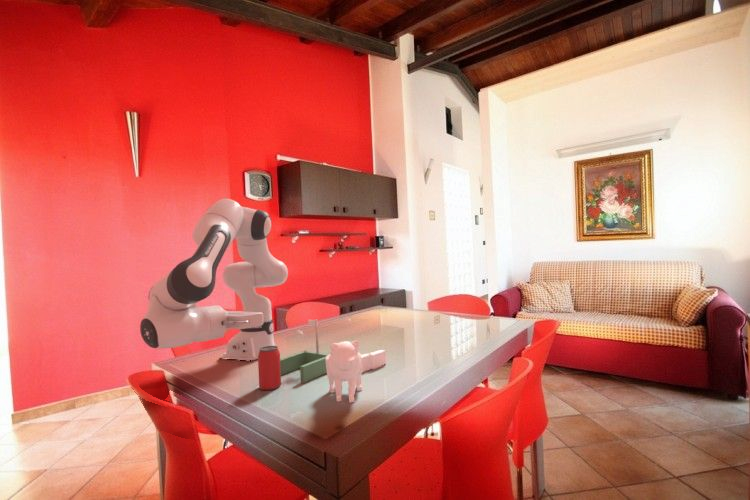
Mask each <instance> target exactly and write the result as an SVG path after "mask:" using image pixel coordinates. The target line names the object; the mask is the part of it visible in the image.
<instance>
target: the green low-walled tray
mask: <svg viewBox="0 0 750 500" xmlns="http://www.w3.org/2000/svg"><path fill="white" fill-rule="evenodd" d="M318 323H319V322H318V319H308V320H307V324H308V326H307V327H308V328H315V347H316V348H315V349H316V351H312V350H311V351H310V350H304V351H300V352H297V353H294V354H291V355H288V356H285V357H282V358H280V368H281V376H283V375H286V374H288V373H291V372H294V371H296V370H298V369H299V371H300V372H299V375H300V383H307V382H309V381H311V380H313V379H316V378H319V377H320V376H321V377H322V376H323V375H325V374H327V369H326V361H325V358H326V356H328V355H329V354H330V353H329V354H328V353H322V352H319V351H320V350H319V349H320V348H319V345H320V344H319V329H318V328H319V327H318V325H319V324H318Z"/></svg>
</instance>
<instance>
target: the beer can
mask: <svg viewBox="0 0 750 500" xmlns="http://www.w3.org/2000/svg"><path fill="white" fill-rule="evenodd" d="M259 350H260V351H259V354H258V359H257V366H258V369H257V370H258V387H259V389H260V390H263V391H271V390H275V389H278V388H279V387H281V385H282V375H281V368H280V359H281V353H280V350H279V347H278V346H277V345H275V346H266V347H262V348H260V349H259Z"/></svg>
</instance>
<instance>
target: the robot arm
mask: <svg viewBox="0 0 750 500" xmlns="http://www.w3.org/2000/svg"><path fill="white" fill-rule="evenodd" d="M196 223H197V224H196V225H195V227H194V229H193V232H192V239H193V241H194V243H195V244H196V245H197V248H196V249H195V251H194V252H193V254H192V256H190V257H188V258H186V259H184V260H182V261H181V262H179V263H177V265H176V266H174V268H173V269H172V270H171V271H170V272H168V273H167V274H165V275H164V276H163V277H162V278H161V279H159V280H158V281H157V282H156V283H155V284H153V286H152V287H151V288H150V289H149V293H148V307H147V309H146V313H145V315H144V316H143V318H142V319H141V320H140V325H139V326H140V327H139V331H140V335H141V338H142V339H143V342H144V343H145V344H146V345H147V346H149V347H150V348H152V349H158V350H163V349H172V348H173V349H174V348H178V347H182V346H183V347H184V346H188V345H190V344H193V343H197V342H198V343H203V342H207V341H213V340H216V339H221V338H223V337H224V336H225V334H226V333H227V331H229V330H230V329H231V330H240V331H238V332H237V333H236V334H235V335H234V336H233V337H232V338H230V339H229V340H228V341H227V344H226V347H225V352H224V353H222V354H221V355H220V357H221V358H229V359H239V360H238V361H240V360H246V361H245V362H251V361H256V360H258V354H259V351H260V350H259V349H260V348H262V347H266V346H276V343H275V338H274V319H273V316H272V315H273V313H272V302H271V300H270V299H269V298H268V297H266V296H264V295H262V294H259V293H257V291H256V288H267V287H276V286H280V285H283V284H284V283H285V282H286V281H287V279H288V276H289V269H288V267H287V265H286V264H285V263H284V262H283V261H281V260H279V259H277V258H276V257H274V256H273V254H272V253H271V252H270V250H269V247H268V246H269V245H268V240H267V239H268V236H269V235H270V232H271V229H272V218H271V216H270V215H269V213H268V212H266V211H264V210H262V209H255V208H251V207H248V206H247V207H246V206H242V205H240V204H239V202H237V201H236V200H234V199H231V198H222V199H219V200H218V201H216V202H215V203H213V204H212V205H211V206H210V207H209V208H207V210H206V211H205V212H204V213H203V215H202V216H201V217H200V218H199V220H198V221H197V222H196ZM234 239H235V240H236V247H237V253H238V255H239V257H240V258H241V260H243V261H238V262H233V263H229V264H227V265H226V266H225V268H224V269H223V272H222V279H223V282H224V283H225V285H226V286H227V287H228V288H230V289H231V290H232V291H234V292H235V293H236V294H237V296H238V298H239V299H240V301H241V304H242V305H241V306H242V311H239V310H237V311H235V310H226V309H223V307H222V306H220V305H218V304H215V305H206V306H200V307H198V306H197V304H198V303H199V302H201V301H203V300H206V298H208V297H209V296H211V294H212V293H213V291H214V289H215V285H216V278H217V277H216V275H217V269H218V267H219V265H220V262H221V261H222V259H223V256H224V255H225V253H226V252H227V251H226V250H227V249H228V248H229V246H230V245H231V244H232V243H233V241H234ZM250 360H251V361H250Z"/></svg>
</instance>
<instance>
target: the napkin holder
mask: <svg viewBox="0 0 750 500" xmlns="http://www.w3.org/2000/svg"><path fill="white" fill-rule="evenodd" d="M386 352H387V351H386V350H384V349H379V350H376V351H372V352H368V353H364V354H361V358H362V371H363V372H362V373H364V372H367V371H369V370H375V369H378V368H380V367H383V366H385V365H387V356H386V355H387V354H386ZM363 360H364V361H363ZM384 364H385V365H384ZM382 365H383V366H382Z"/></svg>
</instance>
